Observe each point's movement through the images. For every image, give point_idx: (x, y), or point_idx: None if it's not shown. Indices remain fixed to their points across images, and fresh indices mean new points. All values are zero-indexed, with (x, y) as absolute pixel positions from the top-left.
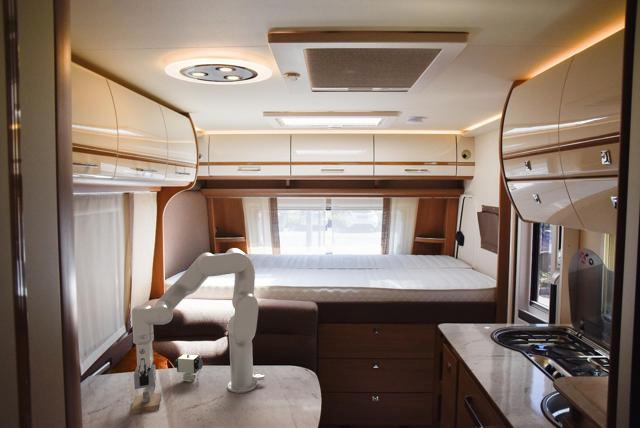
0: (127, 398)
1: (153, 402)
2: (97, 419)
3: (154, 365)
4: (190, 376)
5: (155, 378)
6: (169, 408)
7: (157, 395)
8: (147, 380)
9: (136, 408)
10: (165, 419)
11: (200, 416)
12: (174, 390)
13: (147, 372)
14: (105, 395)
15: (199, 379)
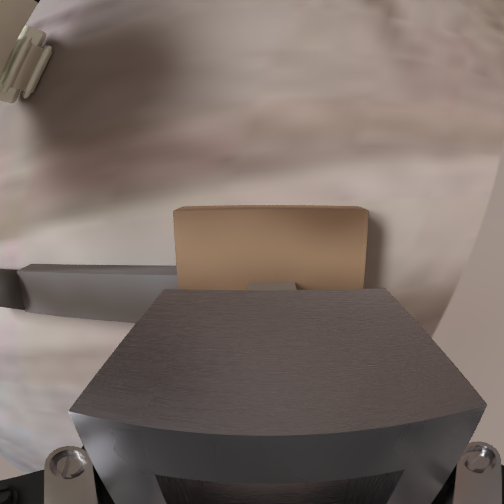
0: None
1: (321, 254)
2: None
3: (129, 430)
4: (32, 42)
5: (202, 297)
6: (369, 141)
7: (216, 235)
8: None
9: None
10: (475, 168)
11: (479, 10)
12: (115, 129)
13: (460, 476)
14: None
15: (44, 17)
